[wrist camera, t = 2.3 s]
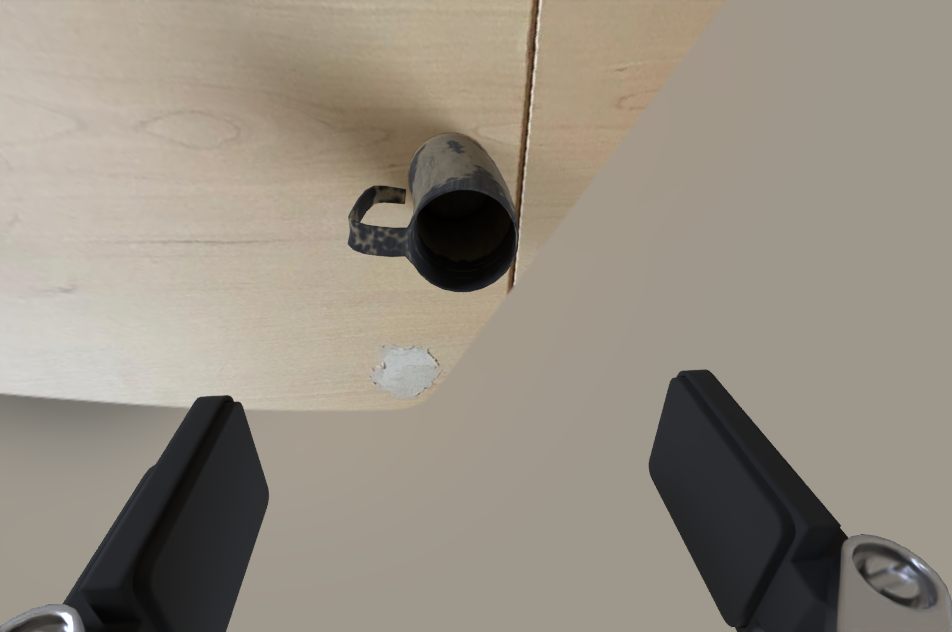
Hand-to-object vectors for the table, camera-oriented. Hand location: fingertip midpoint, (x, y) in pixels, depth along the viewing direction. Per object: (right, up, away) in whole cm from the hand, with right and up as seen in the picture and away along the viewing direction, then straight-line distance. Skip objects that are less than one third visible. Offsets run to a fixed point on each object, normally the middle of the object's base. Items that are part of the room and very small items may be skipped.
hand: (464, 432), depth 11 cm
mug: (-2, +12, +20) cm, 23 cm away
